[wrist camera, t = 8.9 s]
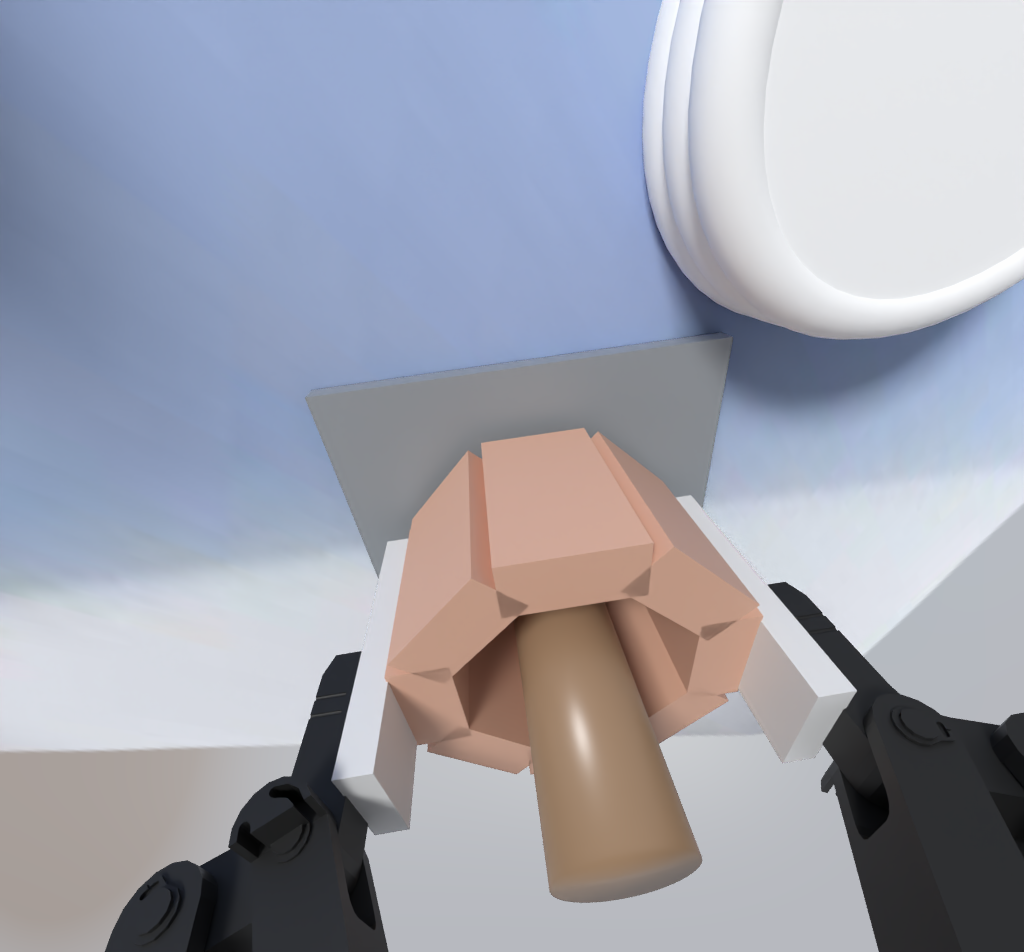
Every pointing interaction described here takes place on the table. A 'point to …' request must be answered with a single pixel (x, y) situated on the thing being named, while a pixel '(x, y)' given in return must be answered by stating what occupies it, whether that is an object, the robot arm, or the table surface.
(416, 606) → the ring
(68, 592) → the table surface
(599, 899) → the post block
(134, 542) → the table surface
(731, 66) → the coaster
